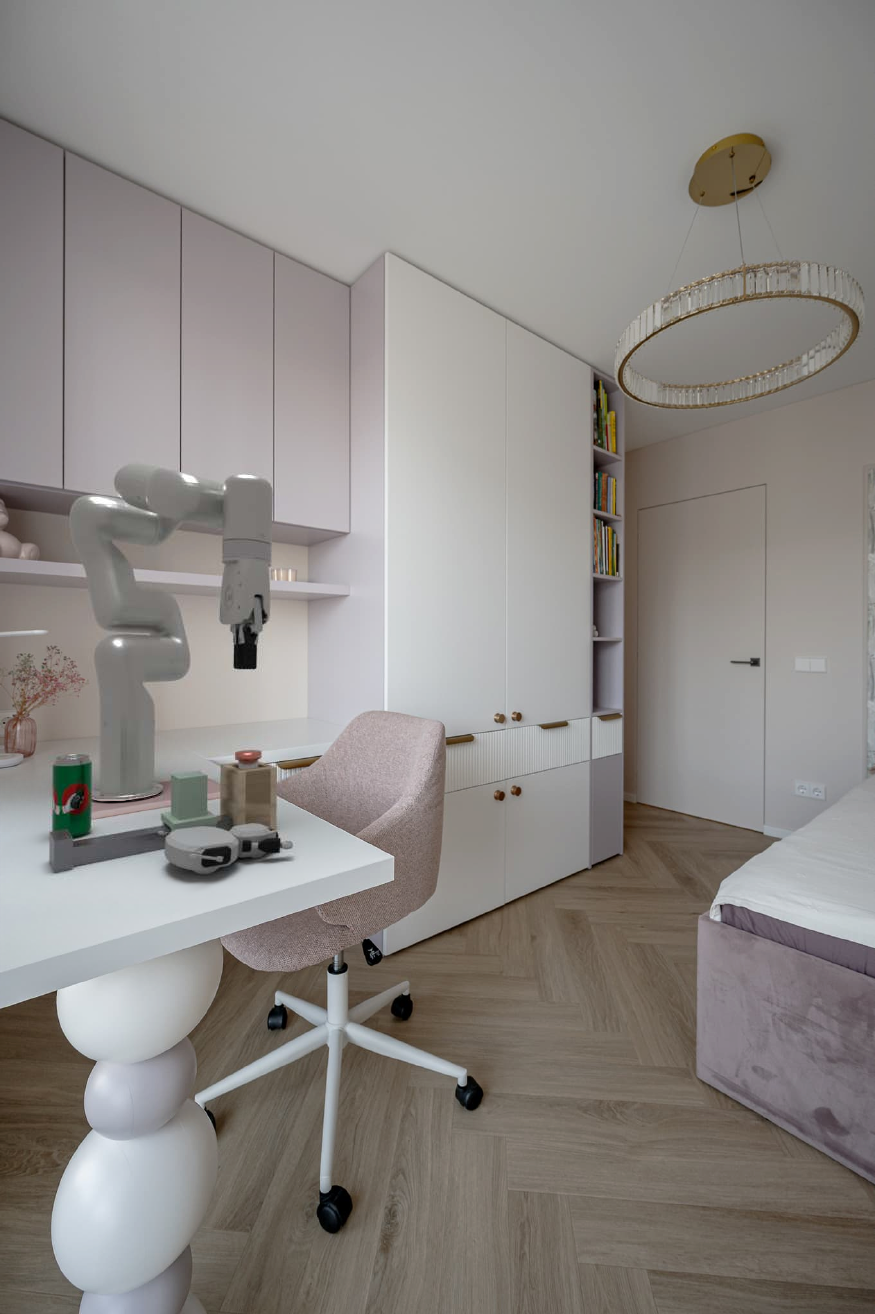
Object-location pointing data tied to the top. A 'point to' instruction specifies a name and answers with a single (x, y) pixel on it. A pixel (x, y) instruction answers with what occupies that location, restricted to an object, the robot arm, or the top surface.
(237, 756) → the plunger
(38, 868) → the top surface
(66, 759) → the soda can
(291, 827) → the top surface
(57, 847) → the rail
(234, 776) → the open wooden box
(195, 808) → the carriage
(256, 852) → the robot toy
